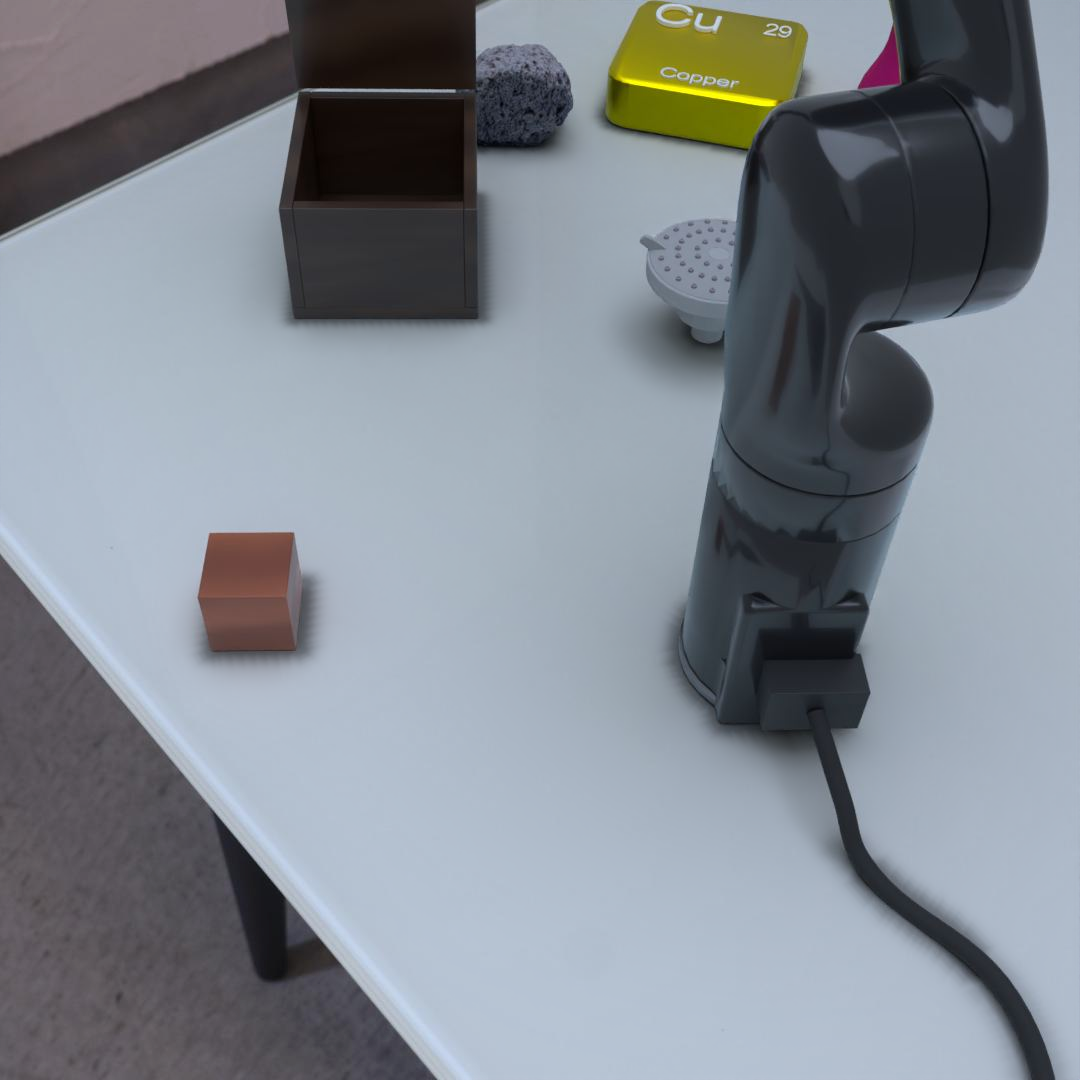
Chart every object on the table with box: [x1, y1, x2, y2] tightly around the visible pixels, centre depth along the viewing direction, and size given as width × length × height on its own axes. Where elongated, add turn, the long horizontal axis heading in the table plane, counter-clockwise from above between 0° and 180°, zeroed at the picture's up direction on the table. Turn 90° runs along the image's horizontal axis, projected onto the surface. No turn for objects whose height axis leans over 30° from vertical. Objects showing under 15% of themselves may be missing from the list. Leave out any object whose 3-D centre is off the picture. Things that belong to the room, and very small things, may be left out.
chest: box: [278, 90, 479, 319], centre depth 93 cm, size 15×13×9 cm
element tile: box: [604, 0, 809, 150], centre depth 111 cm, size 15×15×5 cm
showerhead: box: [639, 218, 736, 344], centre depth 89 cm, size 9×7×10 cm
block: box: [197, 531, 304, 652], centre depth 72 cm, size 5×5×5 cm
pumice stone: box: [454, 43, 574, 148], centre depth 106 cm, size 10×8×10 cm
